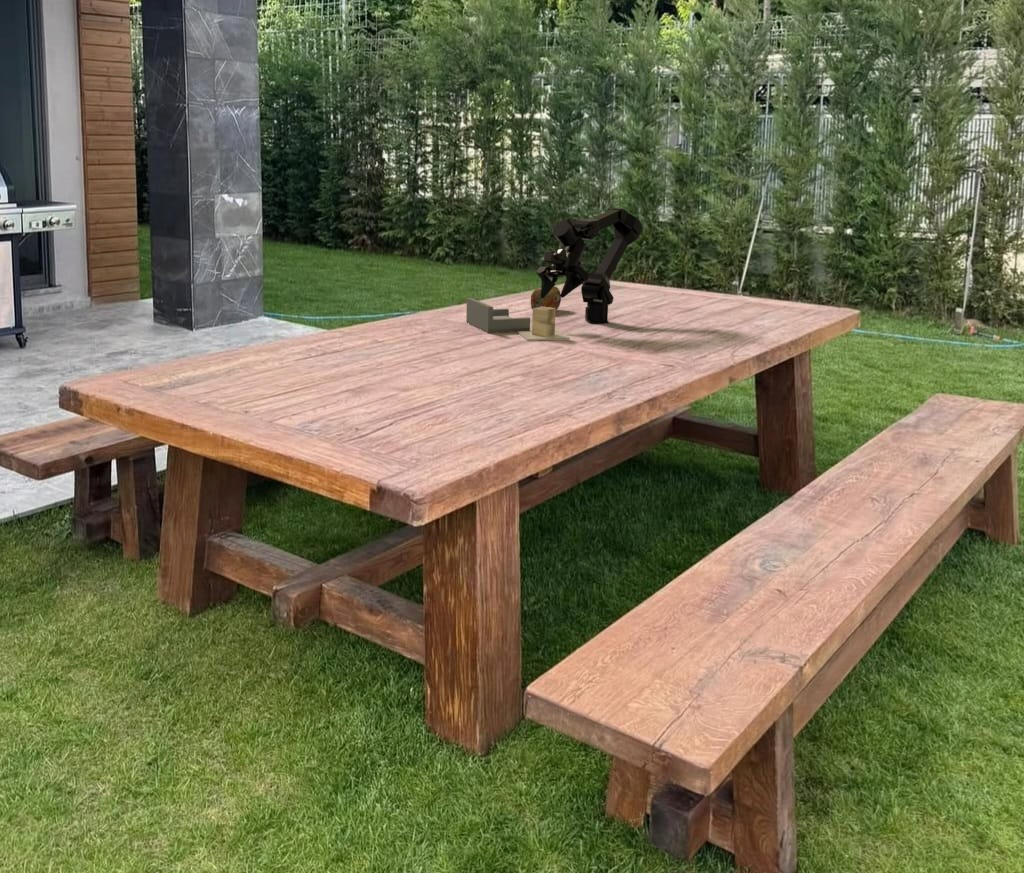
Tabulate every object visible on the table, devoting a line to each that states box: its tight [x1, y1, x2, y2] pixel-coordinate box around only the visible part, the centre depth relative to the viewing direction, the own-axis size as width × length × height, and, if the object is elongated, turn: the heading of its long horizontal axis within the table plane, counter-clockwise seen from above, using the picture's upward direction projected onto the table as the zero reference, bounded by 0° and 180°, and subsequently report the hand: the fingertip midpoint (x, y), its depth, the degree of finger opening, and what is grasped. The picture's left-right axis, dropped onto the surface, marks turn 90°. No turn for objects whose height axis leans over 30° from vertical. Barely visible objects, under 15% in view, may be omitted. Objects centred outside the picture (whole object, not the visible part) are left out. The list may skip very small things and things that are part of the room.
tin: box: [530, 286, 562, 311], centre depth 380 cm, size 15×3×8 cm, turn 143°
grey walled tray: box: [465, 297, 531, 334], centre depth 349 cm, size 14×19×8 cm
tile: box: [517, 329, 571, 342], centre depth 335 cm, size 13×13×1 cm
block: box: [531, 307, 556, 337], centre depth 334 cm, size 5×5×8 cm
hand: (551, 297), depth 341 cm, fingers open, 9 cm apart
